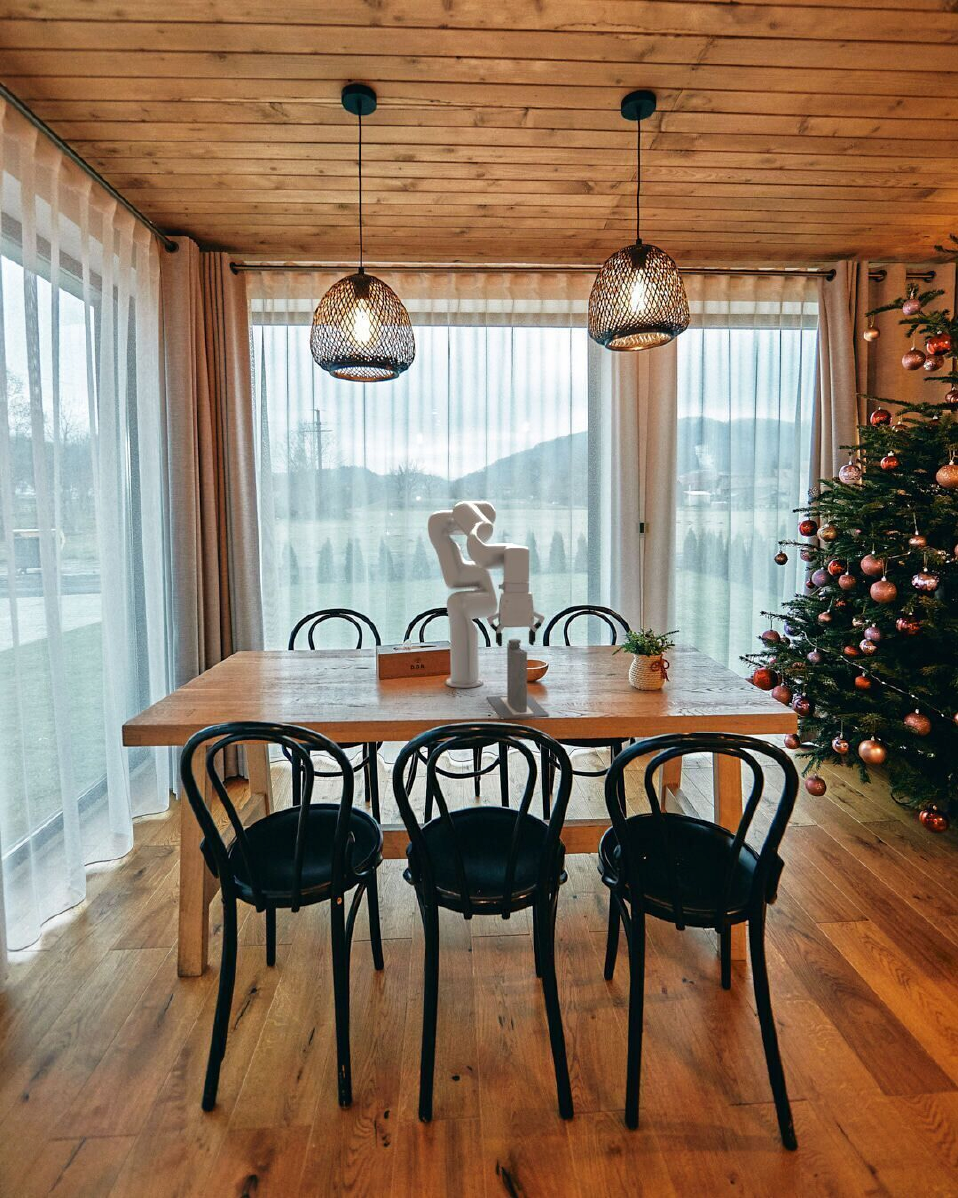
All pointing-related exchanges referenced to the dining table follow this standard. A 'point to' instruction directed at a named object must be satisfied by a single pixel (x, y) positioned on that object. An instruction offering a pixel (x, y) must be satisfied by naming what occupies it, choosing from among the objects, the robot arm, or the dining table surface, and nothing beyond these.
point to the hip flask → (516, 676)
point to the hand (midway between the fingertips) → (515, 644)
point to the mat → (507, 712)
